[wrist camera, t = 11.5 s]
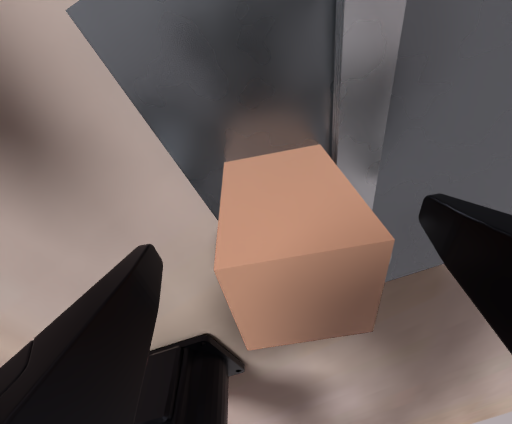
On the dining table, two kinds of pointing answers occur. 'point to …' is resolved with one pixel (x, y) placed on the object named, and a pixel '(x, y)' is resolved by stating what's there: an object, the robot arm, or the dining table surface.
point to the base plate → (319, 95)
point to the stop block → (298, 249)
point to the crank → (363, 86)
